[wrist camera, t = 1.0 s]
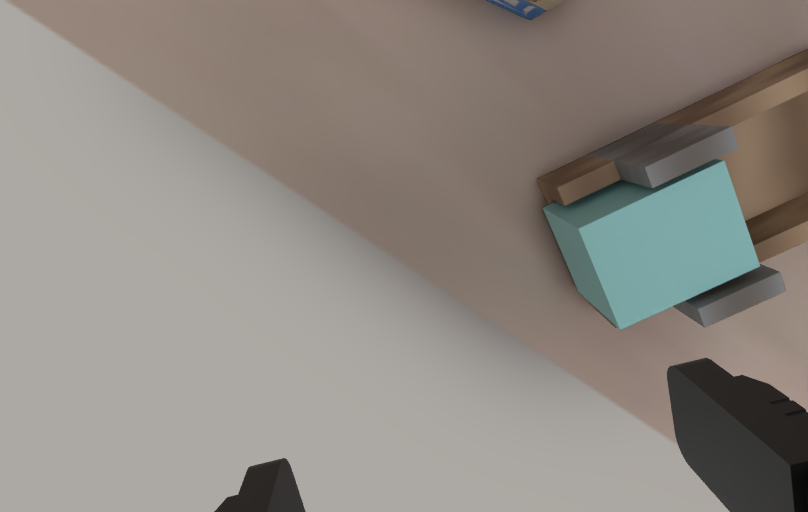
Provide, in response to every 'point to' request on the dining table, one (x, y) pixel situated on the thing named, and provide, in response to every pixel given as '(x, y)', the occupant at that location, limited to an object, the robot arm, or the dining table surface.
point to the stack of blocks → (527, 6)
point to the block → (654, 242)
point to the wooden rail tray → (746, 163)
